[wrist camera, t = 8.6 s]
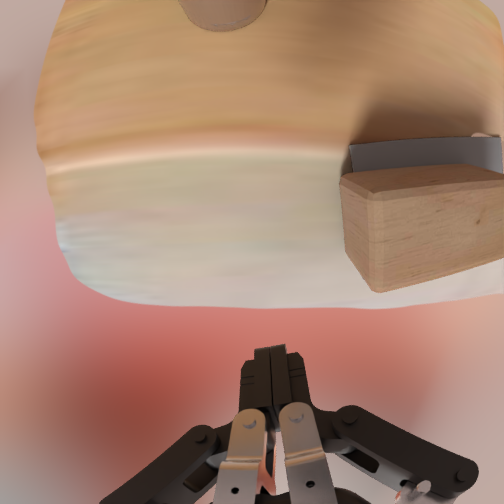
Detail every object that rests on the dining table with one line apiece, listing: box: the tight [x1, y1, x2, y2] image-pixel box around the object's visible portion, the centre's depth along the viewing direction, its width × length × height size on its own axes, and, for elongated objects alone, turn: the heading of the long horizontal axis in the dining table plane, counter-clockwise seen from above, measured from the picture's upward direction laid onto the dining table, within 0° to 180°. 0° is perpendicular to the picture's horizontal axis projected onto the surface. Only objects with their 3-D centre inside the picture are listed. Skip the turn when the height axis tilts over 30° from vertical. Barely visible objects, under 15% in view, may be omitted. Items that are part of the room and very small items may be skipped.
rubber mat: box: [349, 137, 503, 279], centre depth 30 cm, size 17×27×1 cm, turn 103°
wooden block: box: [339, 164, 504, 293], centre depth 25 cm, size 10×10×20 cm
